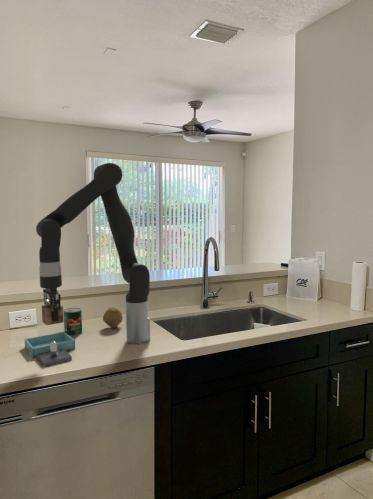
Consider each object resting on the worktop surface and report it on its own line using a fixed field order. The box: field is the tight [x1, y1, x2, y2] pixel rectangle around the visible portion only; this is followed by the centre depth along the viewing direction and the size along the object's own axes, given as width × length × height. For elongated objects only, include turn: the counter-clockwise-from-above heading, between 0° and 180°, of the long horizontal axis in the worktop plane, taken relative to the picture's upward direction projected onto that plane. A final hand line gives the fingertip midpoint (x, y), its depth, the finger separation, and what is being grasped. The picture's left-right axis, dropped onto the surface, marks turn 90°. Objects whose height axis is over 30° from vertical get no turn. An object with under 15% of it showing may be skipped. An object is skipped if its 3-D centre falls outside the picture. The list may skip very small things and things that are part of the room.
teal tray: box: [24, 331, 76, 359], centre depth 148 cm, size 16×14×4 cm
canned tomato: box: [63, 307, 83, 337], centre depth 166 cm, size 8×8×11 cm
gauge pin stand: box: [36, 342, 73, 368], centre depth 136 cm, size 10×10×7 cm
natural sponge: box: [102, 306, 123, 329], centre depth 175 cm, size 9×9×10 cm
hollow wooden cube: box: [41, 304, 64, 326], centre depth 135 cm, size 6×6×6 cm
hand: (52, 318), depth 135 cm, fingers closed on hollow wooden cube, 6 cm apart
